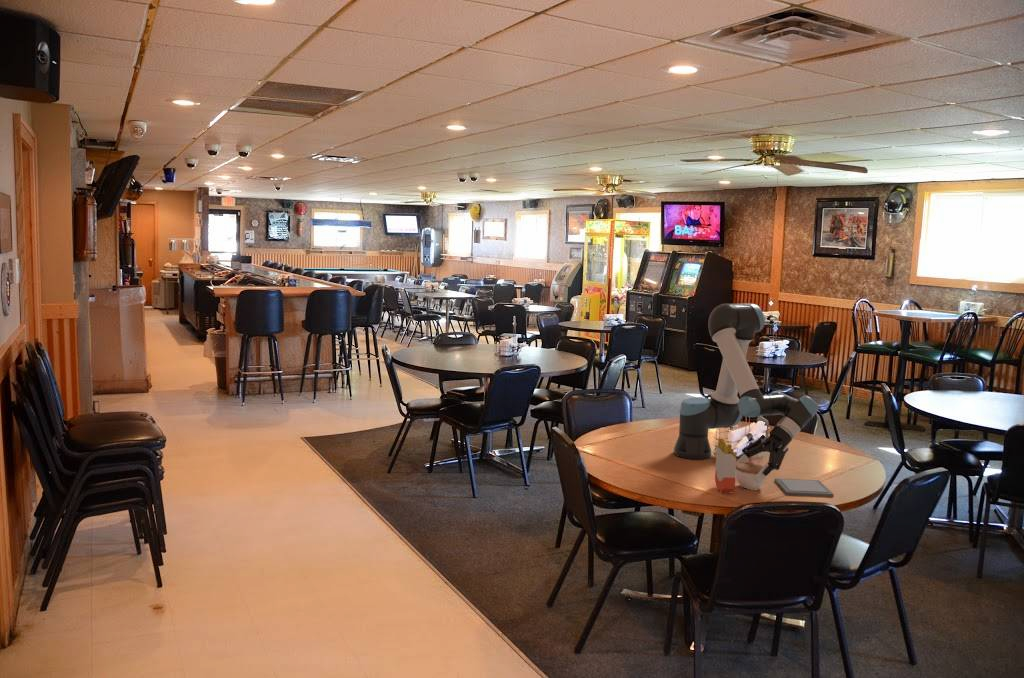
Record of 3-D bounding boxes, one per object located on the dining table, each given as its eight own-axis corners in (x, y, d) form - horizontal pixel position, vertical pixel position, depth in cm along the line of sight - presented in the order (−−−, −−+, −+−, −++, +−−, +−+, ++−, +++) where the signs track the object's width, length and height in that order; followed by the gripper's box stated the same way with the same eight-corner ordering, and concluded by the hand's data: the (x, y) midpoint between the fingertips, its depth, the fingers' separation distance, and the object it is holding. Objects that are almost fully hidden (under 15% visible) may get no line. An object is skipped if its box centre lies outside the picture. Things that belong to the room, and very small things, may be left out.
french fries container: (727, 485, 280) (729, 437, 278) (735, 495, 269) (738, 445, 267) (714, 485, 280) (717, 437, 278) (722, 495, 269) (725, 444, 267)
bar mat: (786, 494, 271) (786, 491, 271) (774, 480, 287) (774, 477, 287) (833, 496, 270) (833, 493, 270) (818, 482, 286) (818, 479, 286)
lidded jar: (759, 494, 271) (761, 468, 270) (730, 487, 278) (731, 462, 276) (769, 486, 280) (771, 461, 279) (741, 480, 286) (742, 456, 285)
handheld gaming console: (785, 443, 343) (786, 421, 341) (764, 443, 343) (766, 421, 341) (774, 436, 356) (776, 415, 354) (755, 435, 356) (756, 414, 354)
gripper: (812, 447, 269) (772, 492, 267) (769, 430, 293) (732, 471, 290) (800, 433, 267) (759, 478, 265) (758, 417, 291) (720, 458, 288)
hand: (745, 475), depth 277 cm, fingers open, 13 cm apart
